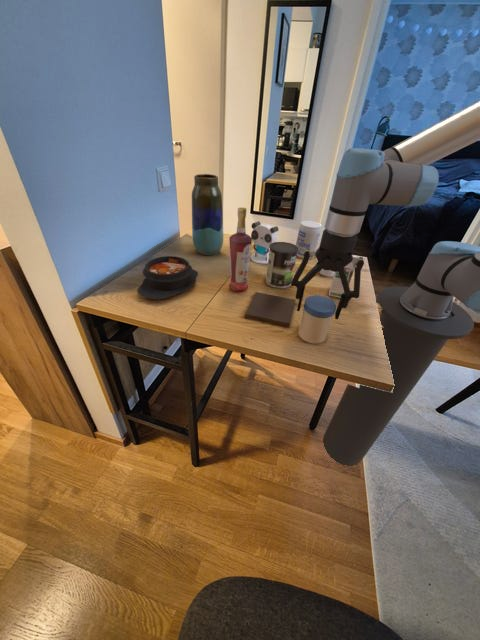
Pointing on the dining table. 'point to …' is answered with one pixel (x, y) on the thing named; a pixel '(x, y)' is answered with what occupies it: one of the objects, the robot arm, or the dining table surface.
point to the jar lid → (319, 306)
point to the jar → (313, 328)
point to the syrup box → (336, 283)
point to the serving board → (271, 309)
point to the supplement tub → (308, 237)
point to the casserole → (167, 277)
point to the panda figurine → (262, 241)
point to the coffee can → (281, 264)
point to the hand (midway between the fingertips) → (317, 312)
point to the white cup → (327, 273)
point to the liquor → (239, 254)
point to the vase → (207, 214)
